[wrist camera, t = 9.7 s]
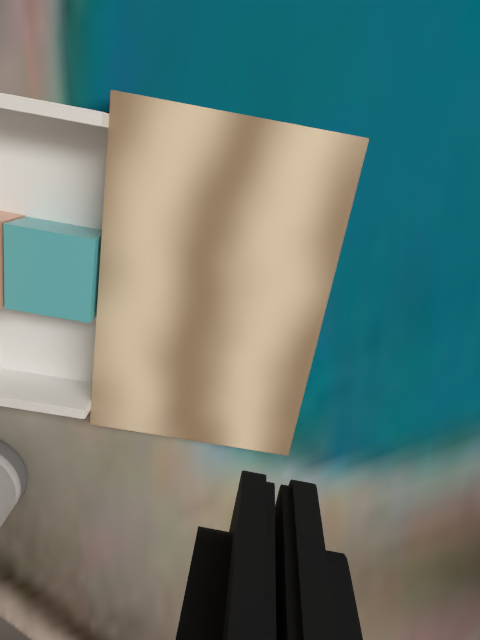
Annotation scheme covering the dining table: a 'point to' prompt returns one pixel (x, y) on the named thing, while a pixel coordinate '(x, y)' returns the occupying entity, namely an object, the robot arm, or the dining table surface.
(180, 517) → the dining table surface
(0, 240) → the tile terracotta
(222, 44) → the dining table surface
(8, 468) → the travel mug
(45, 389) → the tray
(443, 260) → the dining table surface
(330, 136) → the board
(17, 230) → the tile teal
